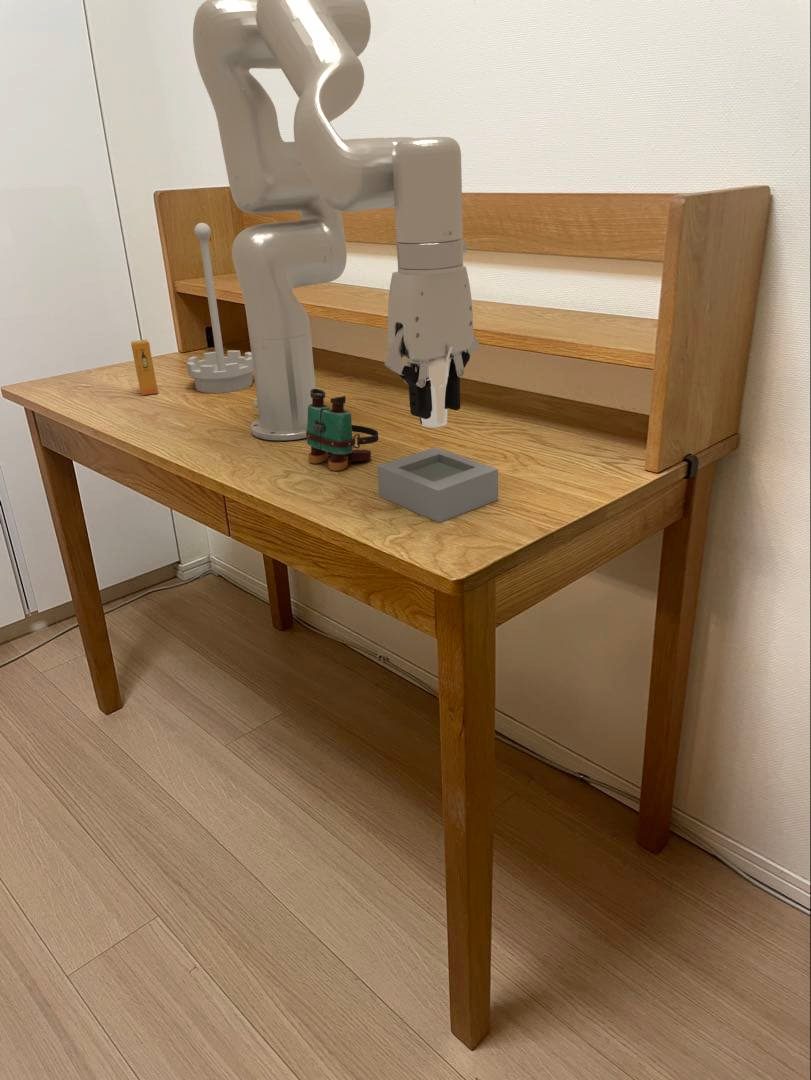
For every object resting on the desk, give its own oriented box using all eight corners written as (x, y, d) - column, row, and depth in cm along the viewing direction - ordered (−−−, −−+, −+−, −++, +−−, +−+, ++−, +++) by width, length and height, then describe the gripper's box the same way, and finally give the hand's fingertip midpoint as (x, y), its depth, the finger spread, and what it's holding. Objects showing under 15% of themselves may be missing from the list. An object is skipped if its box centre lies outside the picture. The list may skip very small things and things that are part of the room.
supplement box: (157, 389, 164) (148, 338, 160) (158, 394, 161) (149, 341, 157) (139, 391, 164) (130, 340, 159) (140, 396, 161) (131, 343, 156)
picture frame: (378, 495, 110) (376, 465, 109) (436, 475, 116) (435, 447, 114) (439, 522, 102) (438, 490, 100) (498, 499, 107) (498, 469, 106)
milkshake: (441, 433, 101) (439, 350, 97) (407, 425, 105) (404, 344, 101) (464, 423, 104) (463, 342, 100) (431, 416, 108) (429, 338, 104)
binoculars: (388, 391, 120) (334, 400, 114) (387, 462, 124) (334, 475, 118) (347, 381, 126) (294, 389, 120) (347, 449, 130) (295, 461, 123)
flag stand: (257, 391, 160) (237, 223, 147) (187, 396, 159) (160, 228, 146) (257, 374, 172) (238, 217, 159) (193, 379, 170) (168, 222, 158)
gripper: (462, 247, 103) (464, 392, 111) (351, 263, 94) (362, 421, 102) (505, 250, 98) (505, 403, 106) (392, 268, 89) (401, 434, 97)
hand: (435, 410), depth 104 cm, fingers closed on milkshake, 4 cm apart
